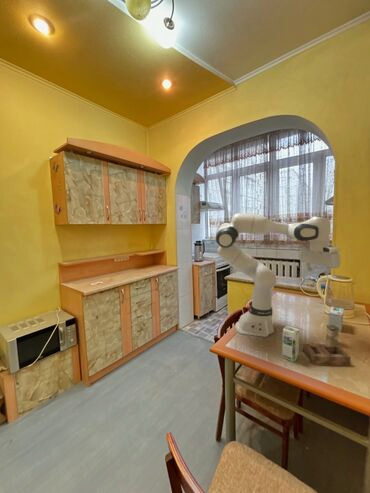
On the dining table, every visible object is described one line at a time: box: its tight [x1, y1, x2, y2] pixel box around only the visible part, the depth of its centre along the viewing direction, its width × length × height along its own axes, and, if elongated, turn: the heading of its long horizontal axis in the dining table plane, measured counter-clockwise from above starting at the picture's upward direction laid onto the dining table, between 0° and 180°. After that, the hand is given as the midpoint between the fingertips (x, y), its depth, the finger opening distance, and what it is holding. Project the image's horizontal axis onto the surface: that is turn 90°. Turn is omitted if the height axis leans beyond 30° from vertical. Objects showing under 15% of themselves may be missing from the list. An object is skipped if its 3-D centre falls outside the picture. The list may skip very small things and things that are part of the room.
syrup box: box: [281, 325, 300, 363], centre depth 105 cm, size 6×6×14 cm
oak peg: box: [325, 324, 340, 346], centre depth 116 cm, size 4×4×9 cm
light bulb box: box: [327, 306, 345, 333], centre depth 131 cm, size 11×7×11 cm, turn 141°
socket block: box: [302, 343, 351, 366], centre depth 104 cm, size 16×10×4 cm, turn 84°
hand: (317, 272), depth 117 cm, fingers open, 8 cm apart
